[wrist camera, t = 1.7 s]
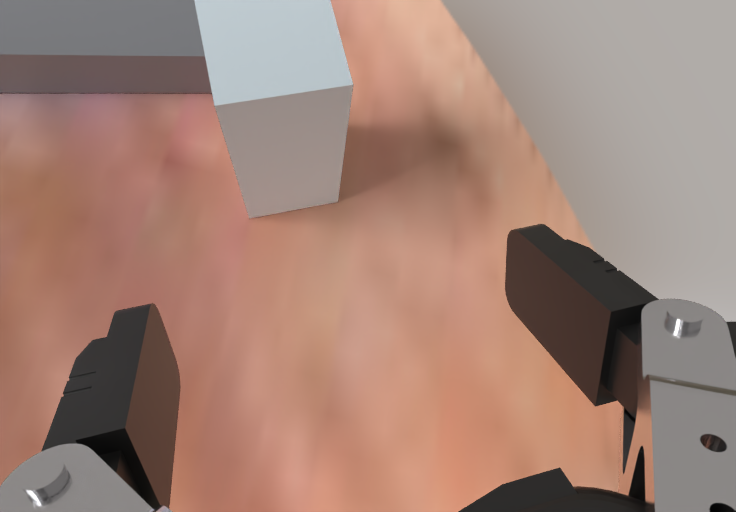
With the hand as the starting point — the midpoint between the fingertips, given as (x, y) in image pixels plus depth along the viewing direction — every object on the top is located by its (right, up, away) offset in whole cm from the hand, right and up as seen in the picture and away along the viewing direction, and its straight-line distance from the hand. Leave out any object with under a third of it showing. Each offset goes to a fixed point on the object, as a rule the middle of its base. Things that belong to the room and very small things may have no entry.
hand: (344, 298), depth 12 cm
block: (-4, +5, +15) cm, 16 cm away
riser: (-13, +15, +17) cm, 26 cm away
